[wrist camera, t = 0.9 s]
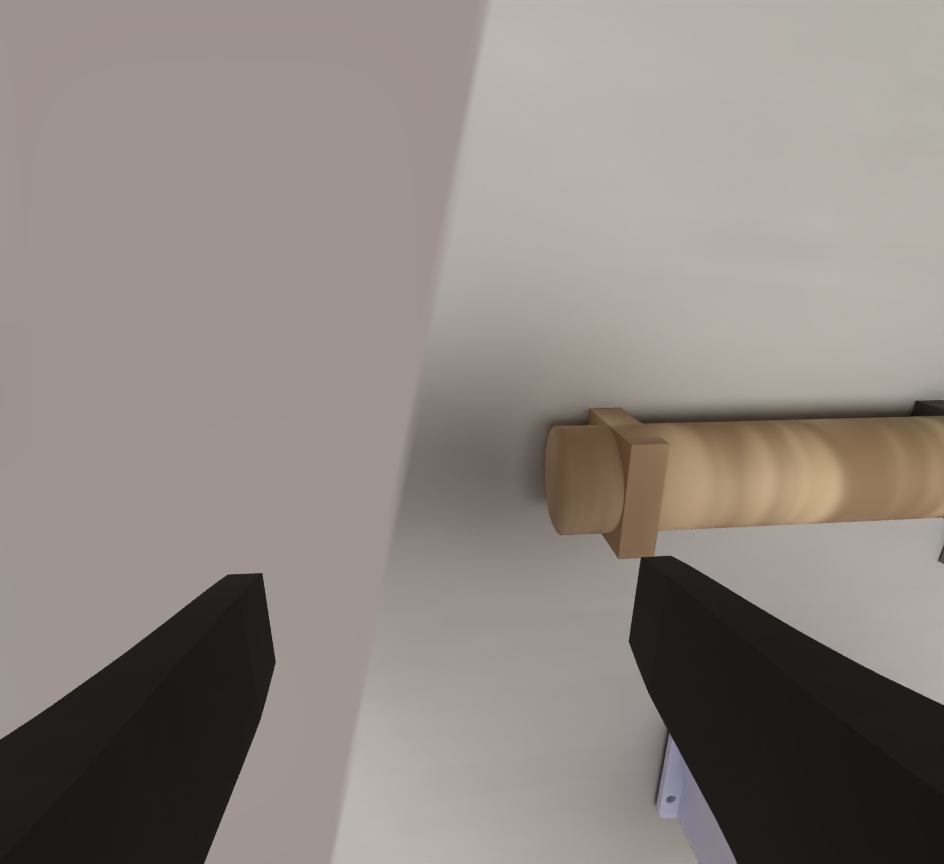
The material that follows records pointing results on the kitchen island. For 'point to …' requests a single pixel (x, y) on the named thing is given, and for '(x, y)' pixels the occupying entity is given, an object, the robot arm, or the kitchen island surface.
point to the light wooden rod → (740, 474)
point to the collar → (942, 557)
